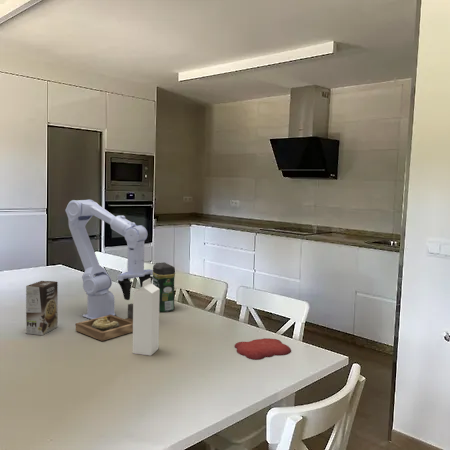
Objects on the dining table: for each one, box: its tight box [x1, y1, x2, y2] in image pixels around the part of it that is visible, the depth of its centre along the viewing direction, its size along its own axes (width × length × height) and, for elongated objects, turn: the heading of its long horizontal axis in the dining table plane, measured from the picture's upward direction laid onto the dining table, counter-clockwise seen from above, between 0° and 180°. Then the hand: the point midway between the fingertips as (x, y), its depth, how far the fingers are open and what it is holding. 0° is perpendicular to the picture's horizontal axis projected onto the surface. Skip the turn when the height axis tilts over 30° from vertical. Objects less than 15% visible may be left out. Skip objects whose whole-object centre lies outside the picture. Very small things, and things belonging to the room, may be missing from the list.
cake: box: [92, 317, 120, 331], centre depth 158 cm, size 10×10×5 cm
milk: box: [132, 278, 160, 357], centre depth 141 cm, size 6×6×22 cm
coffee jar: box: [152, 262, 176, 313], centre depth 186 cm, size 10×8×19 cm
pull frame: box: [75, 303, 133, 342], centre depth 160 cm, size 20×14×6 cm
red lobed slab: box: [234, 337, 292, 361], centre depth 146 cm, size 18×14×2 cm
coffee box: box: [25, 280, 59, 336], centre depth 156 cm, size 9×6×16 cm
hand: (135, 297), depth 167 cm, fingers open, 7 cm apart
